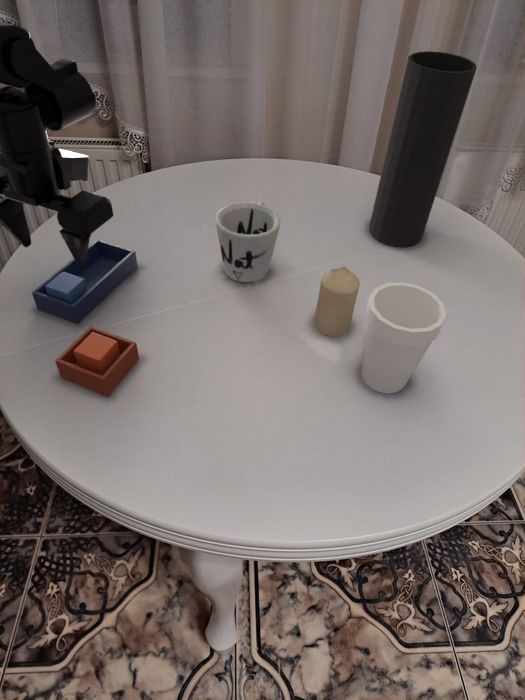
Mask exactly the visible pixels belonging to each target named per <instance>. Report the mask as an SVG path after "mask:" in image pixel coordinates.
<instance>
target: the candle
mask: <svg viewBox="0 0 525 700" xmlns="http://www.w3.org/2000/svg"><path fill="white" fill-rule="evenodd" d="M360 285H361V281H360V279H359V277H358V276H357V275H356V274H355V273H353V271H351V270H350V269H349V268H348V267H346V266H341V267H338V268H332V269H329V270H327V271H325V272H324V273H323V274H322V275H321V280H320V284H319V290H318V297H317V302H316V308H315V314H314V321H313V322H314V323H313V324H314V327H315V329H316V330H317V331H318V332H319V333H320V334H323V335H325V336H328V337H340V336H343V335H345V334H347V332H348V331H349V329H350V328H351V327H350V326H351V323H352V318H353V315H354V311H355V306H356V302H357V299H358V298H357V297H358V293H359V290H360Z"/></svg>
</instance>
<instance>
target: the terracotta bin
mask: <svg viewBox="0 0 525 700" xmlns="http://www.w3.org/2000/svg"><path fill="white" fill-rule="evenodd" d="M92 332H93V333H96V334H99V335H102V336H104V337H107V338H110V339H113V340H115V341H117V343H118V348H119V352H120V357H119V358H118V359H117V360H116V361H115V363H114V364H113V365H112V366H111V367H110V368H109V369H108V370H107V371H106V373H105V374H104V375H103V376H101V375H99V374H96V373H94V372H91V371H88V370H86V369H83V368H81V367H78V364H77V360H76V357H75V354H74V350H75V349H76V348H77V347H78V346H79V345H80V344H81V343H82V342H83V341H84V340H85V339H86V338H87V337H88V336H89V335H90V334H91V333H92ZM137 343H138V342H136V341H134V340H131V339H128V338H126V337H122V336H120V335H117V334H115V333H112V332H109V331H106V330H104V329H101V328H98V327H95V326H93V325H90V326H88V327H87V328H86V329H85V330H84V331H83V332H82V333H81V335H79V336H78V337H77V338H76V339H75V340H74V341H73V342H72V343H71V344H70V345H69V346H68V347H67V348H66V349H65V350H64V351H63V352H62V353H61V354H60V355H59V356H58V357H57V358H56V359H55V360H54V362H55V365H56V368H57V371H58V373H59V377H60V378H61V379H63V380H64V381H67V382H70V383H73V384H75V385H78V386H80V387H83V388H84V389H88V390H90V391H92V392H95V393H97V394H100V395H103V396H105V397H107V398H108V397H109V396H110V395H111V393H113V391H114V390H115V389H116V387H118V385H119V384H120V383H121V381H123V379H124V378H125V377H126V376H127V375H128V374H129V373H130V371H131V370H132V369H133V368H134V367H135V366H136V365H137V364H138V362H139V360H140V355H139V349H138V344H137Z"/></svg>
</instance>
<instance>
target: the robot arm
mask: <svg viewBox="0 0 525 700" xmlns="http://www.w3.org/2000/svg"><path fill="white" fill-rule="evenodd" d="M0 84H1V85H3V86H1V87H0V225H1V226H2V227H3V228H4V229H5V231H7V232H8V233H9V234H10V235H11V236H12V237H13V238H14V239H15V240H16V241H17V242H19V243H20V245H22V246H23V248H28V247H30V246H32V238H31V233H30V228H29V224H28V220H27V216H26V212H25V209H24V205H28V206H32V207H35V208H36V207H42V208H46V209H48V210H52V211H55V212H57V213H56V218H57V223H58V225H59V226H60V227H61V229H60V230H59V233H60V235H61V237H62V239H63V241H64V243H65V245H66V246H67V248H68V250H69V252H70V253H71V256H72V257H73V258H74V259H75V260H76V262H77V263H78V265H82V264H83V263H84V262H85V260H86V255H87V250H88V246H89V245H90V240H91V236H92V234H94V232H95V231H97V230H98V229H99V228H100V227H102V226H103V225H104V224H106V223H107V222H108V221H110V219H112V218H113V217H114V210H113V203H112V202H111V199H109V198H108V197H106V196H103V195H100V194H97V193H93V192H90V191H87V190H81V191H79V192H78V193H76V194H75V195H73V196H72V197H70V196H68V195H67V196H66V195H64V194H62V191H67V190H69V189H70V188H72V182H76V181H82V182H87V181H89V160H90V159H89V155H86V154H82V153H78V152H74V151H71V150H67V149H62V148H59V147H57V146H55V143H54V141H51V140H49V136H48V133H47V129H48V130H50V131H53V132H58V131H61V130H63V129H65V128H67V127H69V126H71V125H73V124H76V123H78V122H80V121H82V120H84V119H86V118H88V117H90V116H92V115H93V114H94V113H95V111H96V108H97V98H96V94H95V92H94V91H93V89H92V86H91V84H90V83H89V81H88V80H87V79H86V78H85V76H84V75H83V74H81V72H79V70H78V65H77V62H76V61H75V60H72V59H67V58H60V59H58V60H56V61H54V62H53V63H51V64H50V63H49V62H48V61H47V60H46V58H45V57H44V56H43V55H42V54H41V53H40V52H39V50H38V49H37V48H36V45H35V42H34V40H33V38H32V36H31V33H30V31H28V30H27V29H26V28H24V27H22V26H19V25H17V24H13V23H8V22H4V21H0Z"/></svg>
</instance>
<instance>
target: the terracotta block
mask: <svg viewBox="0 0 525 700" xmlns="http://www.w3.org/2000/svg"><path fill="white" fill-rule="evenodd" d="M74 354H75V357H76V360H77V364H78V367H81V368H83V369H86V370H88V371H91V372H94V373H96V374H99V375H101V376H103V375H104V374H105V373H106V371H107V370H108V369H109V368H110V367H111V366H112V365H113V364H114V363H115V361H116V360H117V359H118V358H119V357H120V352H119V348H118V343H117V341H115V340H113V339H110V338H107V337H104V336H102V335H99V334H96V333H93V332H92V333H91V334H90V335H89V336H88V337H87V338H86V339H85V340H84V341H83V342H82V343H81V344H80V345H79V346H78V347H77V348H76V349H75V350H74Z"/></svg>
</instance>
